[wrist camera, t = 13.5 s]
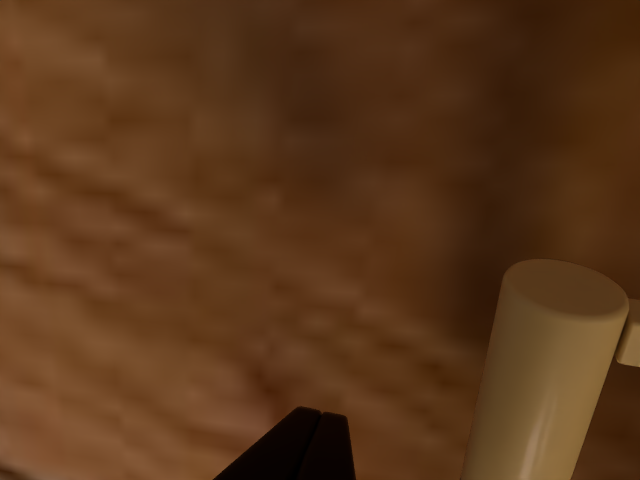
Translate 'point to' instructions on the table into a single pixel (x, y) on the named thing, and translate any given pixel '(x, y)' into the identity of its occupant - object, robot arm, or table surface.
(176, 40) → the table surface
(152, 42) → the table surface
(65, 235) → the table surface
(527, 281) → the drawer
